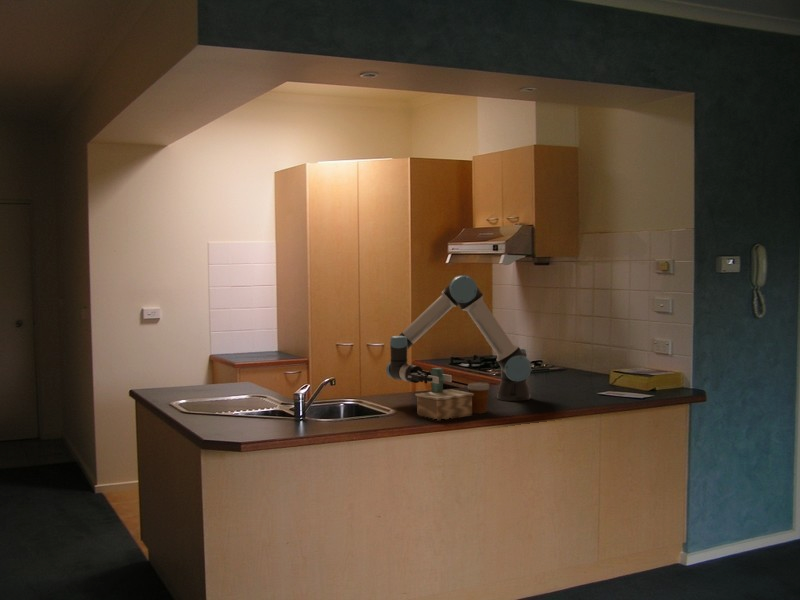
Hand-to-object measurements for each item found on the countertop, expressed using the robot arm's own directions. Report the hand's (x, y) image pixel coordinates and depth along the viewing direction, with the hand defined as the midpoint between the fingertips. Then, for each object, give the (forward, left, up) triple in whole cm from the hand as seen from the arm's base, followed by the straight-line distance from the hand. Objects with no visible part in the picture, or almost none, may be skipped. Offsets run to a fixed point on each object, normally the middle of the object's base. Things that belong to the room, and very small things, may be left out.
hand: (444, 379), depth 352 cm
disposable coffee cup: (-16, +3, -15) cm, 22 cm away
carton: (0, 0, -15) cm, 15 cm away
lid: (0, 0, -7) cm, 7 cm away
